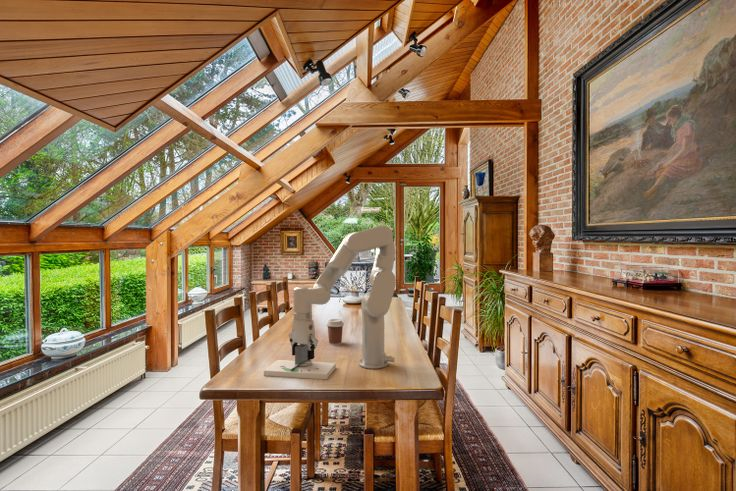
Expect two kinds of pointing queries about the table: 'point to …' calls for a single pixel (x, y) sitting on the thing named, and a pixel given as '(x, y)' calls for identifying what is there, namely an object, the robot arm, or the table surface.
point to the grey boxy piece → (301, 356)
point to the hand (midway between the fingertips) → (303, 356)
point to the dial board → (300, 370)
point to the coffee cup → (335, 331)
